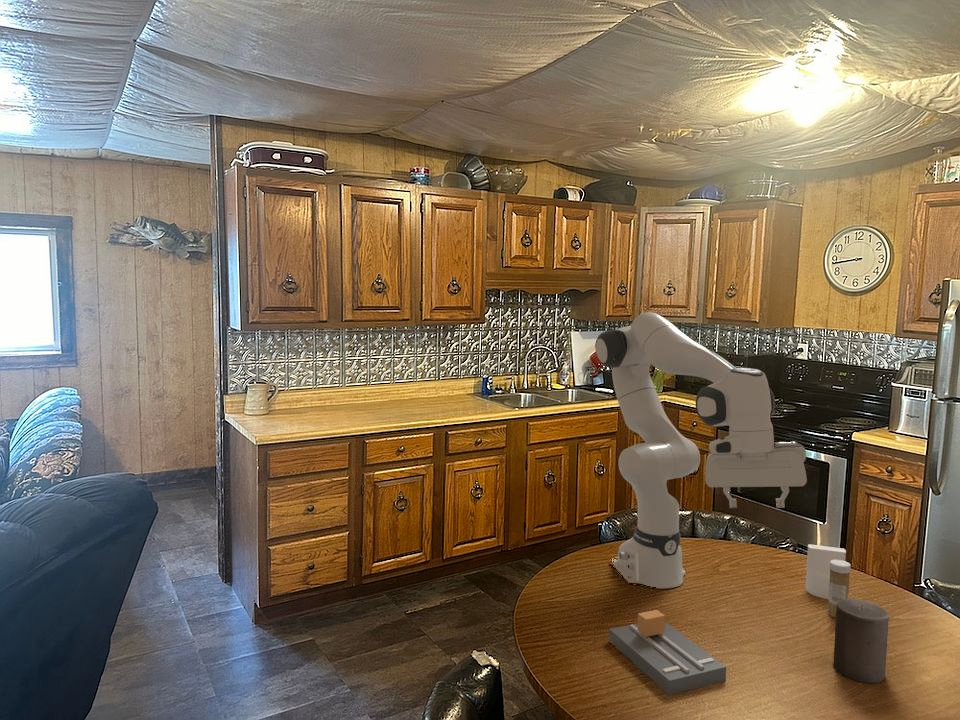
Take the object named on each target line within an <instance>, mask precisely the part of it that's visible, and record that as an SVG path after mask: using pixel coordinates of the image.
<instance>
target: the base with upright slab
mask: <svg viewBox="0 0 960 720" xmlns="http://www.w3.org/2000/svg"><path fill="white" fill-rule="evenodd" d="M846 554H847V550H846V549H845V548H841V547H834V546H833V547H832V546H827V545H819V544H818V545H816V544H809V543H808V545H807V556H806V574H805V575H806V578H805V590H806V592H808V593H809V594H810V595H811V596H815V597H816V598H817V597H818V598H821V599H826V600H828V599H829V580H830V561H831V560H843V561H846V558H847V557H846Z"/></svg>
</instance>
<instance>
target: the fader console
mask: <svg viewBox="0 0 960 720" xmlns="http://www.w3.org/2000/svg"><path fill="white" fill-rule="evenodd" d="M609 640H610V641H611V642H612V643H613V644H614V645H615V646H616V647H617V648H618V649H619V650H620V651H621V652H622V653H623V654H624V655H623V654H622V653H621V652H620V651H619V650H618V649H617V648H616V647H615V648H616V649H617V650H618V651H619V652H620V653H621V654H622V655H623V656H625V655H626V656H627V657H628V658H629V659H630V660H631V661H632V662H633V663H632V662H631V661H630V660H629V659H628V658H627V657H626V656H625V657H626V658H627V659H628V660H629V661H630V662H631V663H632V664H634V666H635V667H637V668H638V669H639V670H640V671H641V670H642V673H643V674H644V675H646V676H647V677H648V676H649V677H648V678H649V679H650V678H651V679H650V680H652V681H653V682H654V683H655V685H657V686H658V687H659V688H660V689H661V690H662V691H664V692H665V693H666V694H667V695H669V696H670V695H675V694H678V693H683V692H686V691H689V690H690V691H691V690H694V689H695V690H696V689H698V688H702V687H706V686H710V685H711V686H712V685H715V684H719V683H723V682H726V681H727V680H726V678H727V666H726V665H724V663H722V662H721V661H719V660H718V659H716V657H714V656H713V655H711V654H709V653H708V652H707V651H706V650H704V649H703V648H702V647H700V646H699V645H697V643H695V642H694V641H692V640H691V639H690V638H687V637H686V636H685V635H684V634H682V633H681V632H679V631H678V630H677V629H676V628H674V627H673V626H671V625H670V624H669V623H667V622H666V621H665V632H664V633H661V634H657V635H655V636H652V637H650V636H647V637H645V636H644V635H643V634H641V633H640V632H639V631H638V622H636V623H633V624H628V625H627V624H626V625H623V626H618V627H613V628H609V630H608V641H609Z"/></svg>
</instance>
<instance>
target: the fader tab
mask: <svg viewBox="0 0 960 720" xmlns="http://www.w3.org/2000/svg"><path fill="white" fill-rule="evenodd" d="M665 622H666V615H665V614H664V613H662V612H660V611H659V610H658V609H654V610H647V611H643V612H638V613H637V623H638V631H639V632H640V633H641V634H643V635H644V636H645V637H647V636H650V637H652V636H655V635H657V634H661V633H664V632H665Z"/></svg>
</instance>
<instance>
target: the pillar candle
mask: <svg viewBox="0 0 960 720" xmlns="http://www.w3.org/2000/svg"><path fill="white" fill-rule="evenodd" d="M889 619H890V612H888V610H887V609H885V608H884V607H882V606H880V605H878V604H876V603H875V602H873V601H870V600H869V601H868V600H864V599H860V598H847V599H842V600H840V601H838V602H837V608H836V618H835V625H834V626H835V627H834V646H833V663H832V666H833V668H834V669H835V671H836V672H838V674H840V675H842V676H844V677H846V678H848V679H850V680H853V681H856V682H859V683H866V684H867V683H868V684H874V683H875V684H876V683H877V684H878V683H881V682H882V681H884V680H885V678H886V677H885V676H886V667H887V666H886V664H887V654H888V653H887V652H888V651H887V650H888V637H889V636H888V634H889Z"/></svg>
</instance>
